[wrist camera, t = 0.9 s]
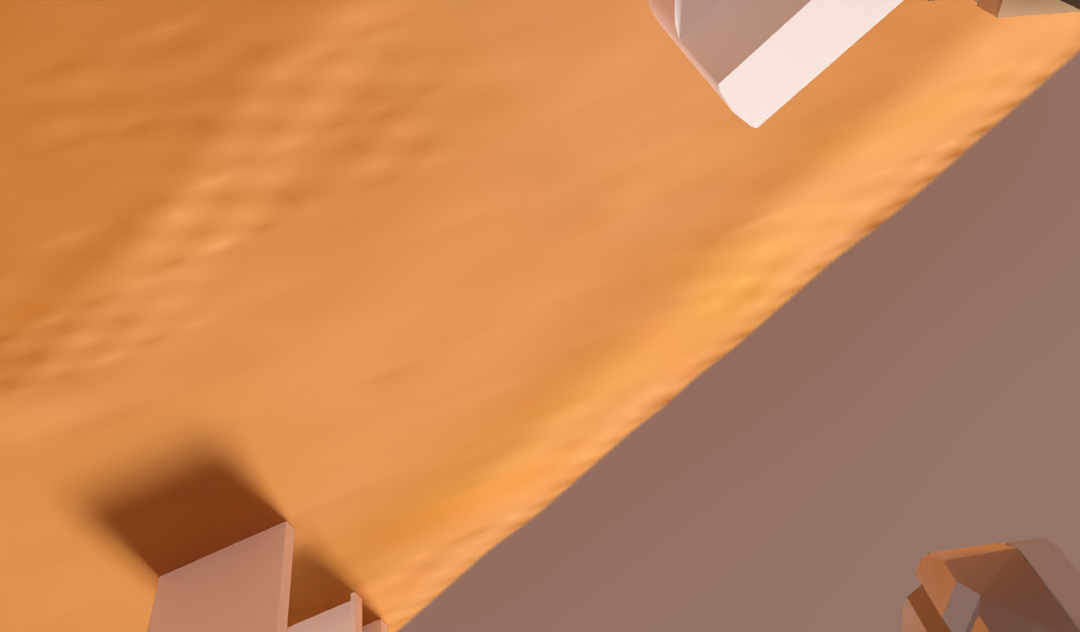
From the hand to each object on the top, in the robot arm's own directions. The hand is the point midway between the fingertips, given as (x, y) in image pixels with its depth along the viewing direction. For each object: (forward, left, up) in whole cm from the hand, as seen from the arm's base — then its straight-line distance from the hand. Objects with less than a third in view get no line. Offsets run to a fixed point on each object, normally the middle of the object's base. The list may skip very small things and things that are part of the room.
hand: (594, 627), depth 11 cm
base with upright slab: (+4, +16, -42) cm, 45 cm away
